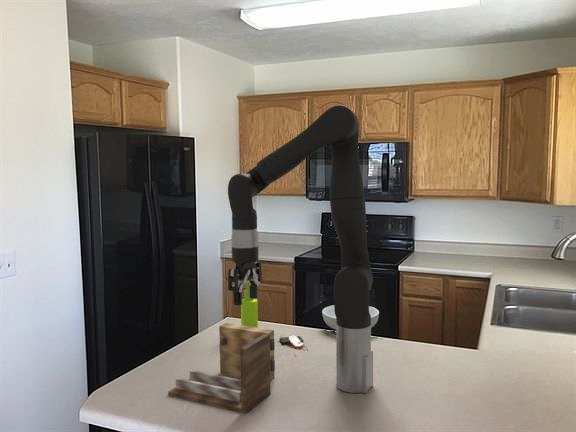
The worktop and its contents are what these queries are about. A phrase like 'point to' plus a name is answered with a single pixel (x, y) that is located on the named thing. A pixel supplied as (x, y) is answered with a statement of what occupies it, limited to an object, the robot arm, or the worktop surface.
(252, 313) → the soap dispenser
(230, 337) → the oak door
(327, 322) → the serving bowl
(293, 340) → the multimeter
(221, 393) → the hinge base
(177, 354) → the worktop surface
